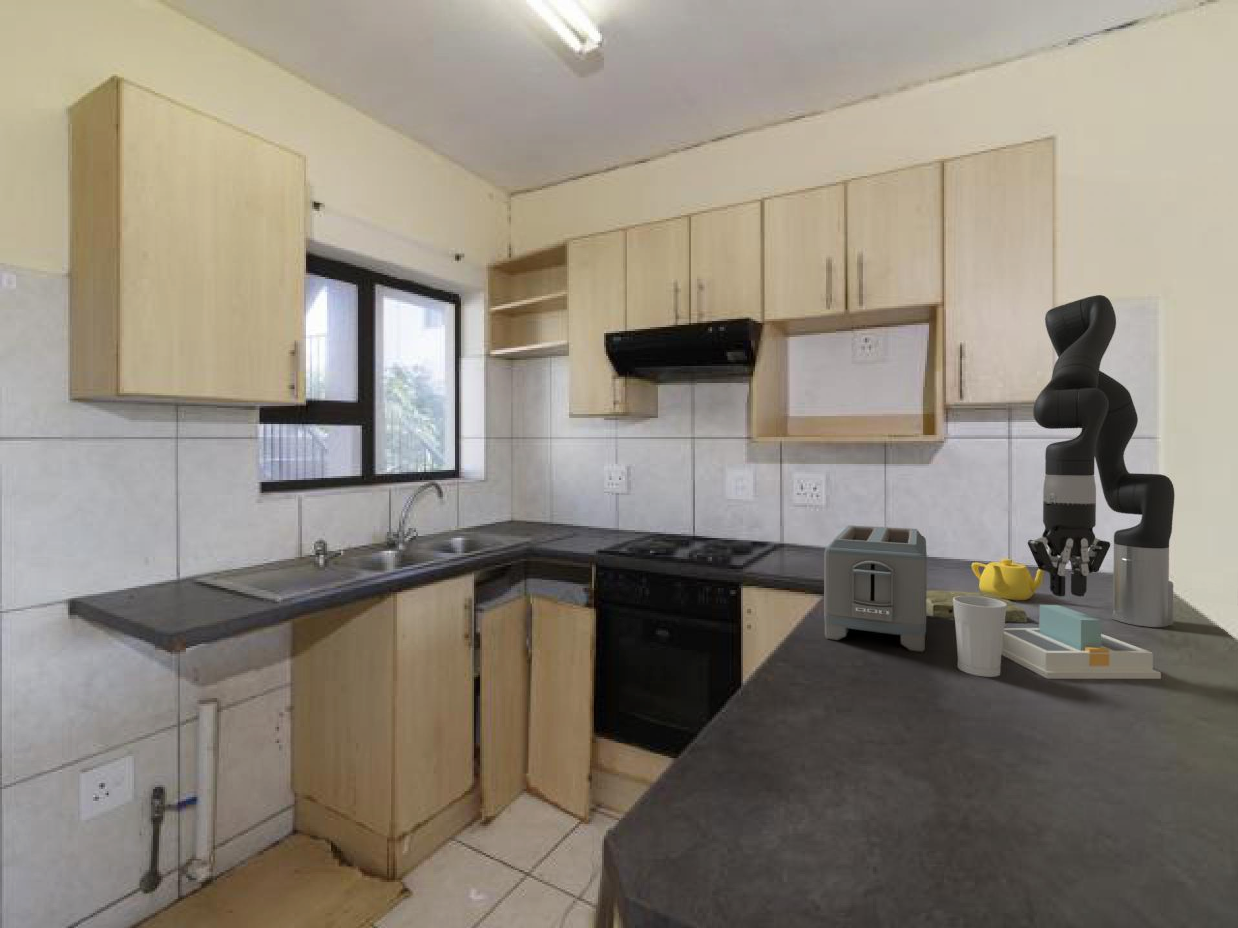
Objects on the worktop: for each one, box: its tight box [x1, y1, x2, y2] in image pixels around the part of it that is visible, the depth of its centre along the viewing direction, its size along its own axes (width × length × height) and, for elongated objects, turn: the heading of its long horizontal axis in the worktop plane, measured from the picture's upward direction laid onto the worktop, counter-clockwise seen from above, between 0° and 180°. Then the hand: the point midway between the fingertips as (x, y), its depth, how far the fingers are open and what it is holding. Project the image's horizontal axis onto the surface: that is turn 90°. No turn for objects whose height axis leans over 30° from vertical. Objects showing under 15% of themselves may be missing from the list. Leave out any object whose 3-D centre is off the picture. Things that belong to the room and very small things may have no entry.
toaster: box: [823, 524, 928, 653], centre depth 125 cm, size 19×33×20 cm, turn 152°
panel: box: [1038, 604, 1103, 651], centre depth 105 cm, size 4×10×8 cm, turn 0°
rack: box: [1001, 627, 1162, 680], centre depth 105 cm, size 19×16×5 cm
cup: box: [953, 596, 1007, 678], centre depth 101 cm, size 8×8×12 cm
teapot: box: [971, 558, 1045, 601], centre depth 154 cm, size 14×13×10 cm
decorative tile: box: [926, 590, 1028, 623], centre depth 140 cm, size 19×20×4 cm
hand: (1067, 594), depth 105 cm, fingers open, 3 cm apart
